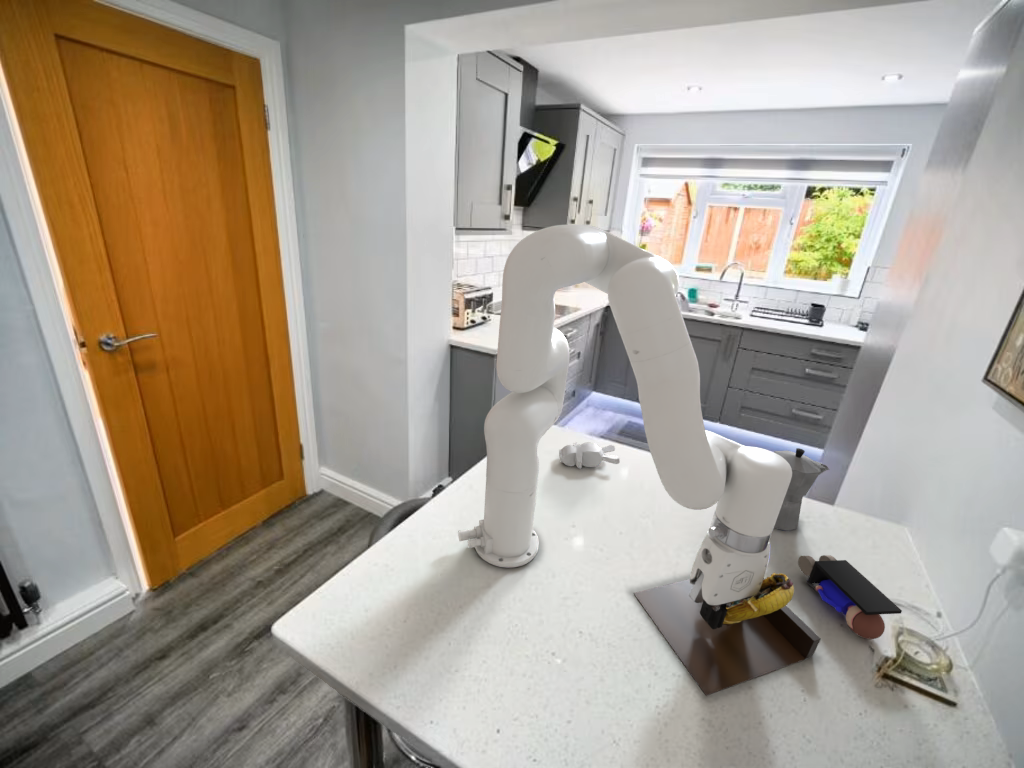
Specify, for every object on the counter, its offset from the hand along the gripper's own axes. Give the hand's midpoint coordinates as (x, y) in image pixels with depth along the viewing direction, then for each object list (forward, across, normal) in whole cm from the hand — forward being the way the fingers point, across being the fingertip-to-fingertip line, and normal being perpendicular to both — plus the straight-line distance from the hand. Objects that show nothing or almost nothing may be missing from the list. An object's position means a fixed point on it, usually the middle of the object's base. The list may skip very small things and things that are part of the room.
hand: (710, 620), depth 70 cm
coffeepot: (+2, +35, +20) cm, 41 cm away
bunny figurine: (+2, +3, +50) cm, 50 cm away
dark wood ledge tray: (+2, +2, +1) cm, 3 cm away
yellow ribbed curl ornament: (+2, +5, +1) cm, 5 cm away
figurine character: (+3, +26, -2) cm, 26 cm away
